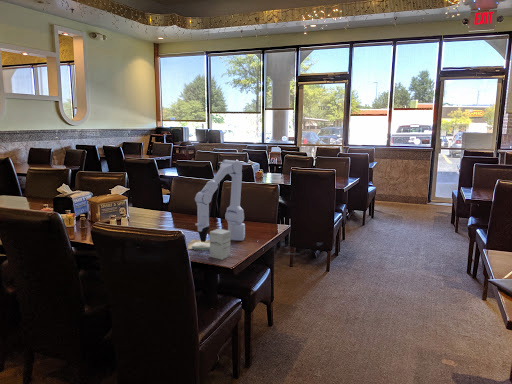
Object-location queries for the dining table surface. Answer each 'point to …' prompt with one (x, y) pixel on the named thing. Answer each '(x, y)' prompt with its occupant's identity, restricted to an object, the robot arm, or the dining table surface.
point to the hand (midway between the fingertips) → (203, 241)
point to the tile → (201, 246)
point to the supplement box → (220, 243)
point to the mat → (197, 242)
